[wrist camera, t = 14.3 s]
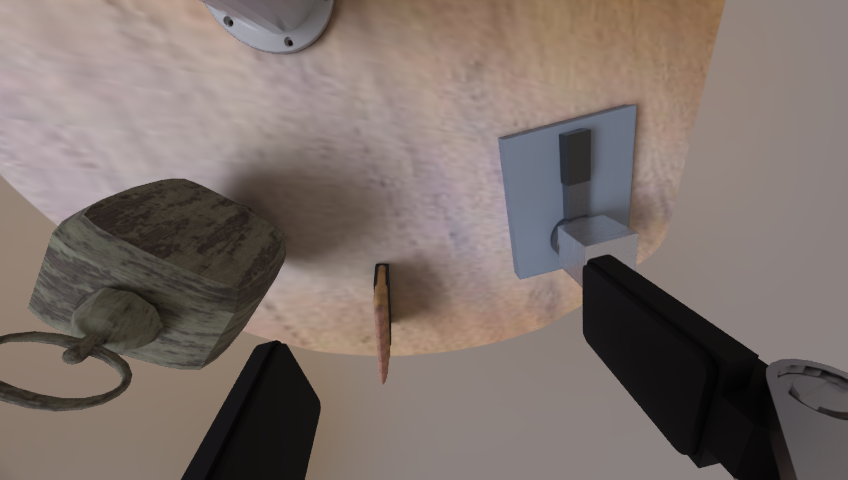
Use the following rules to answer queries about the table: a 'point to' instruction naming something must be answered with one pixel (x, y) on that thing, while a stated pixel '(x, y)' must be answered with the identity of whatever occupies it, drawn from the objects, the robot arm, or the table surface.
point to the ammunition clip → (382, 318)
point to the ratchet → (573, 178)
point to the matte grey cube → (595, 244)
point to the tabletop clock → (150, 282)
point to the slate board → (542, 189)
